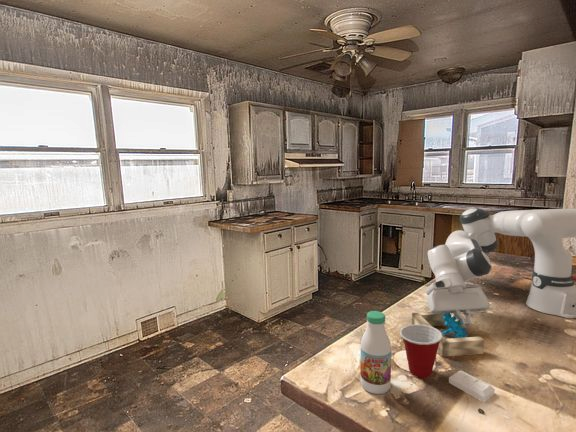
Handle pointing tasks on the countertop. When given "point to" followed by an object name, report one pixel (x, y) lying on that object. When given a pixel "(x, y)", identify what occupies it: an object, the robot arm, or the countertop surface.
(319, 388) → the countertop surface
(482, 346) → the carrier pocket
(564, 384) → the countertop surface
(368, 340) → the milk bottle
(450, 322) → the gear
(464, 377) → the soap bar
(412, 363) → the plastic cup
